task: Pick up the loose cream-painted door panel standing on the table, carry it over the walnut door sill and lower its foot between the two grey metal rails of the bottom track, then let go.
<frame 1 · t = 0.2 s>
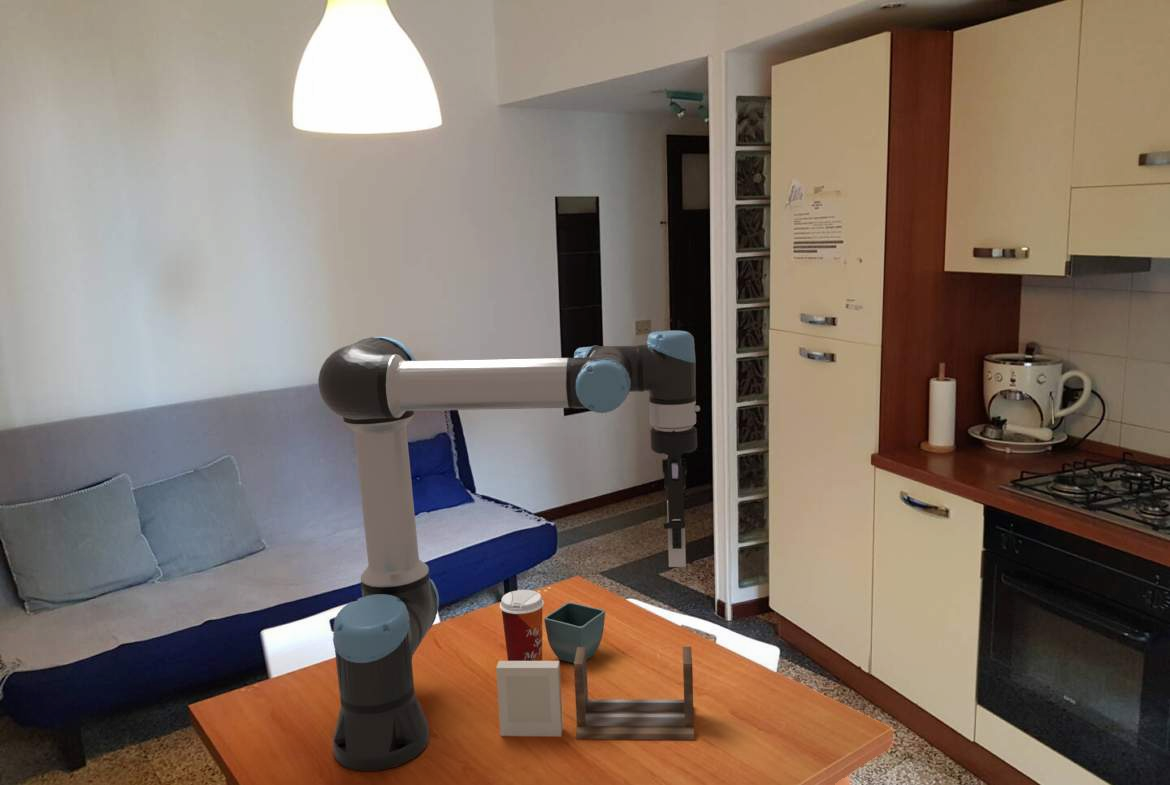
hand: (676, 551, 149), 28 cm above the table, fingers open, 13 cm apart
coffee cup: (526, 673, 167), on the table
door panel: (531, 732, 147), on the table
flower pot: (577, 658, 172), on the table
track: (635, 722, 148), on the table
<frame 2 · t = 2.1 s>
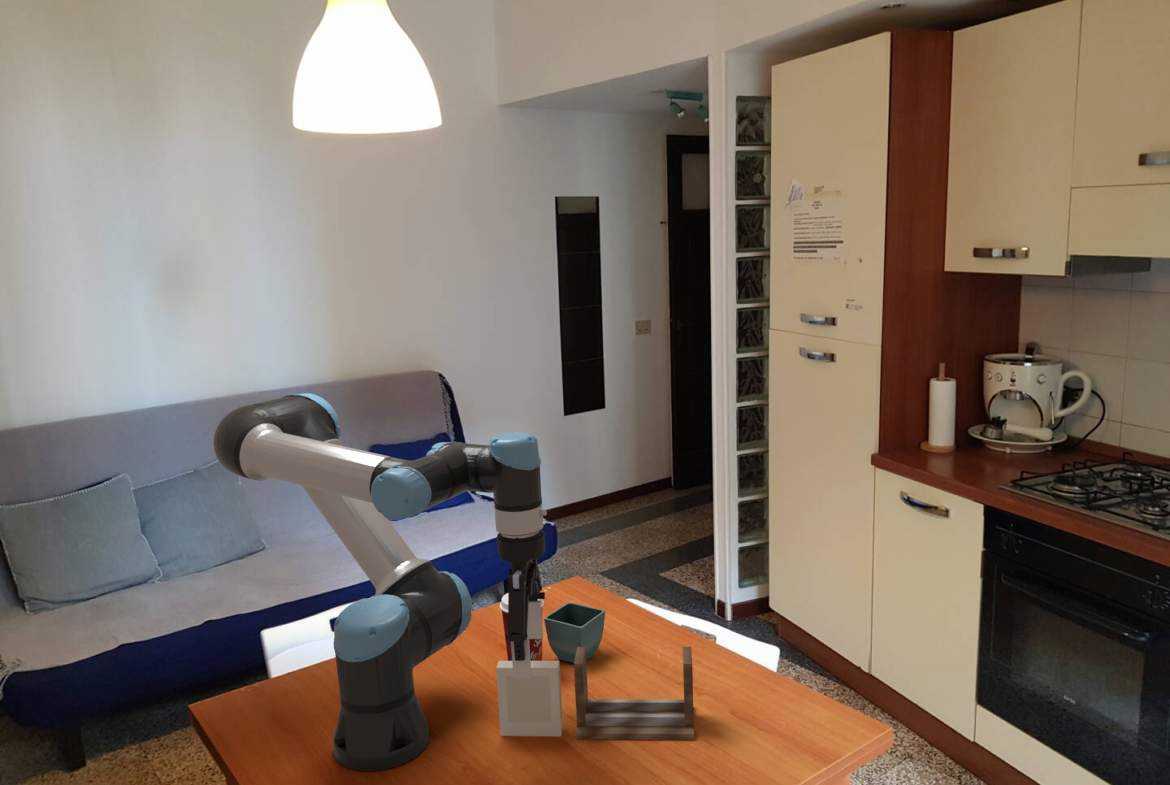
hand: (529, 656, 144), 13 cm above the table, fingers open, 13 cm apart
nothing on the table moved.
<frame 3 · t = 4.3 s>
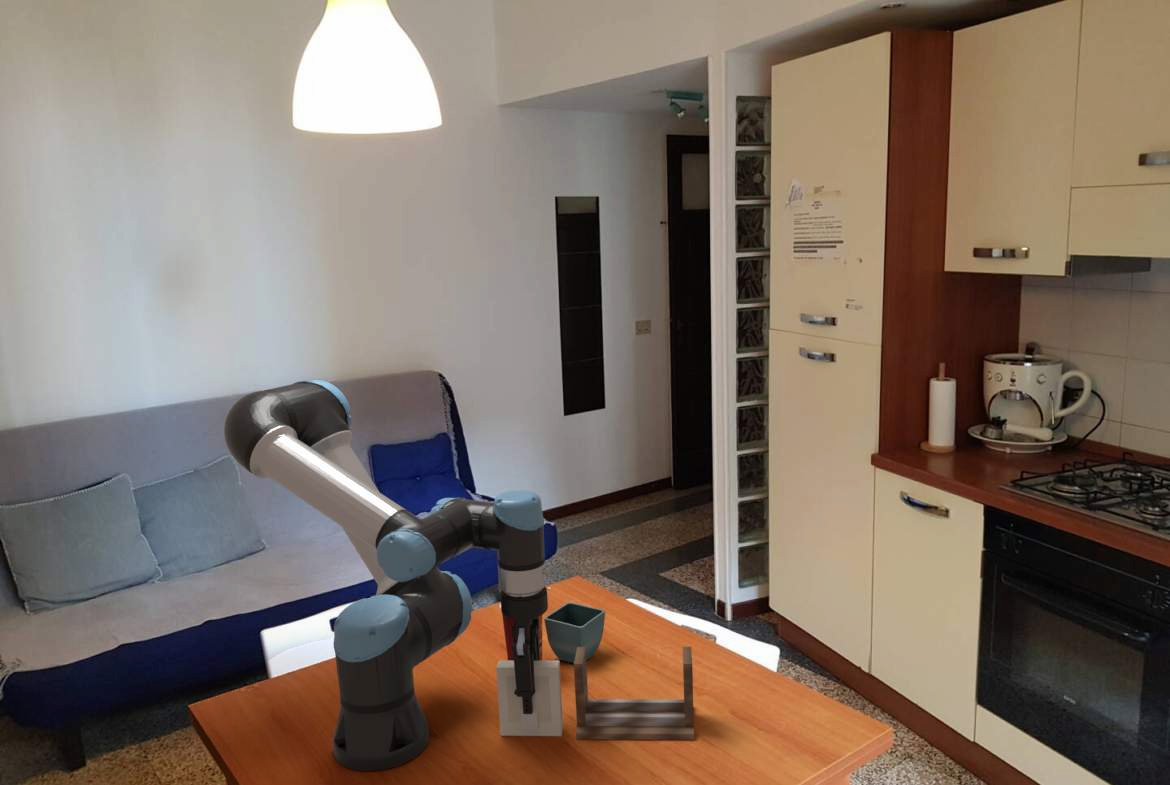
hand: (531, 723, 146), 2 cm above the table, fingers closed on door panel, 2 cm apart
door panel: (532, 731, 147), on the table, touching gripper
everything else where it was.
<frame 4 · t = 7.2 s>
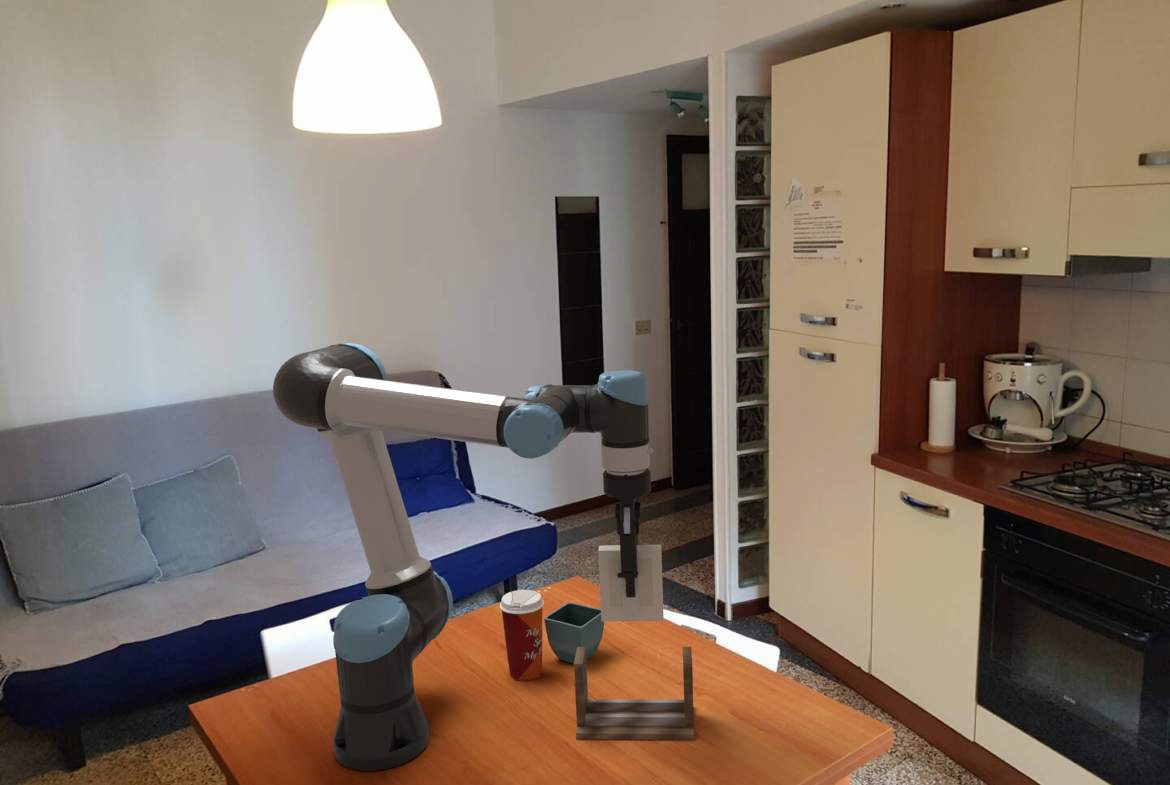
hand: (632, 609, 145), 20 cm above the table, fingers closed on door panel, 2 cm apart
door panel: (632, 618, 145), point 18 cm above the table, touching gripper
everything else where it was.
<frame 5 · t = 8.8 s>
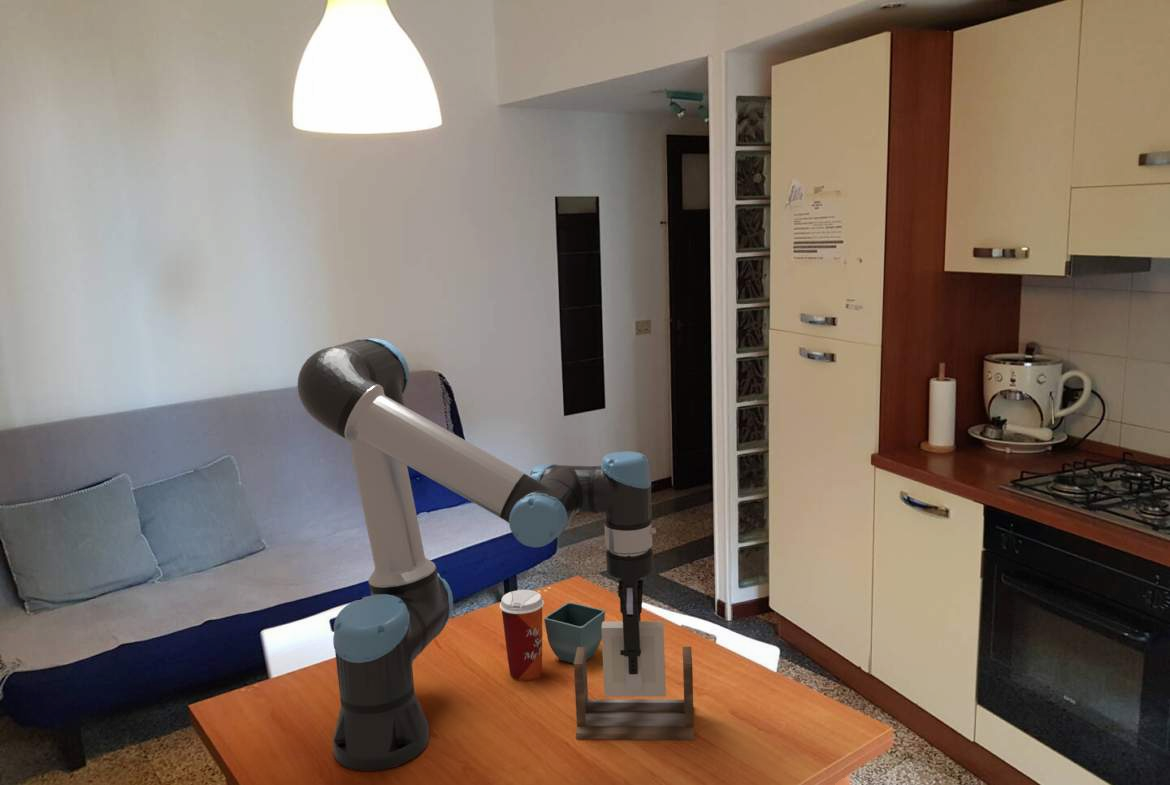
hand: (634, 684, 147), 7 cm above the table, fingers closed on door panel, 2 cm apart
door panel: (635, 692, 147), point 5 cm above the table, touching gripper
everything else where it was.
when the fingers open (3 cm above the table, at t = 10.0 s): door panel stays where it is, resting on track.
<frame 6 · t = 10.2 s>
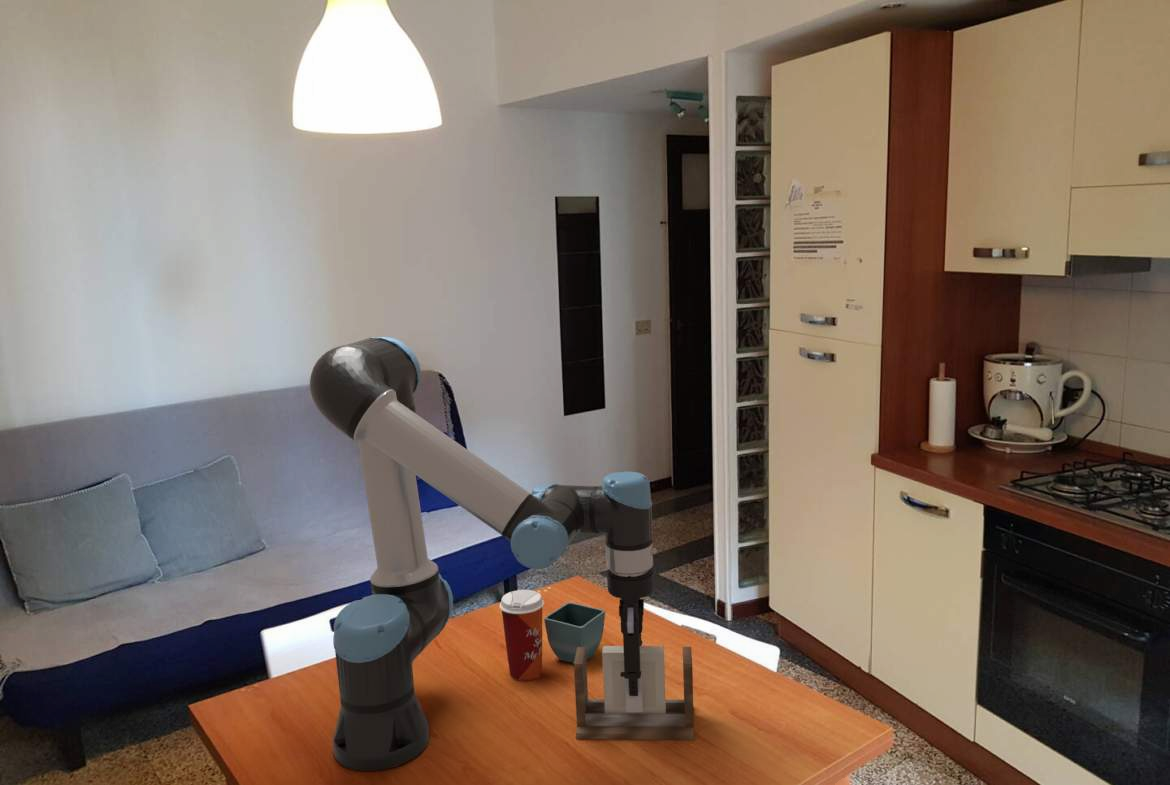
hand: (635, 701, 147), 4 cm above the table, fingers open, 5 cm apart
door panel: (635, 716, 148), point 1 cm above the table, touching track
everything else where it was.
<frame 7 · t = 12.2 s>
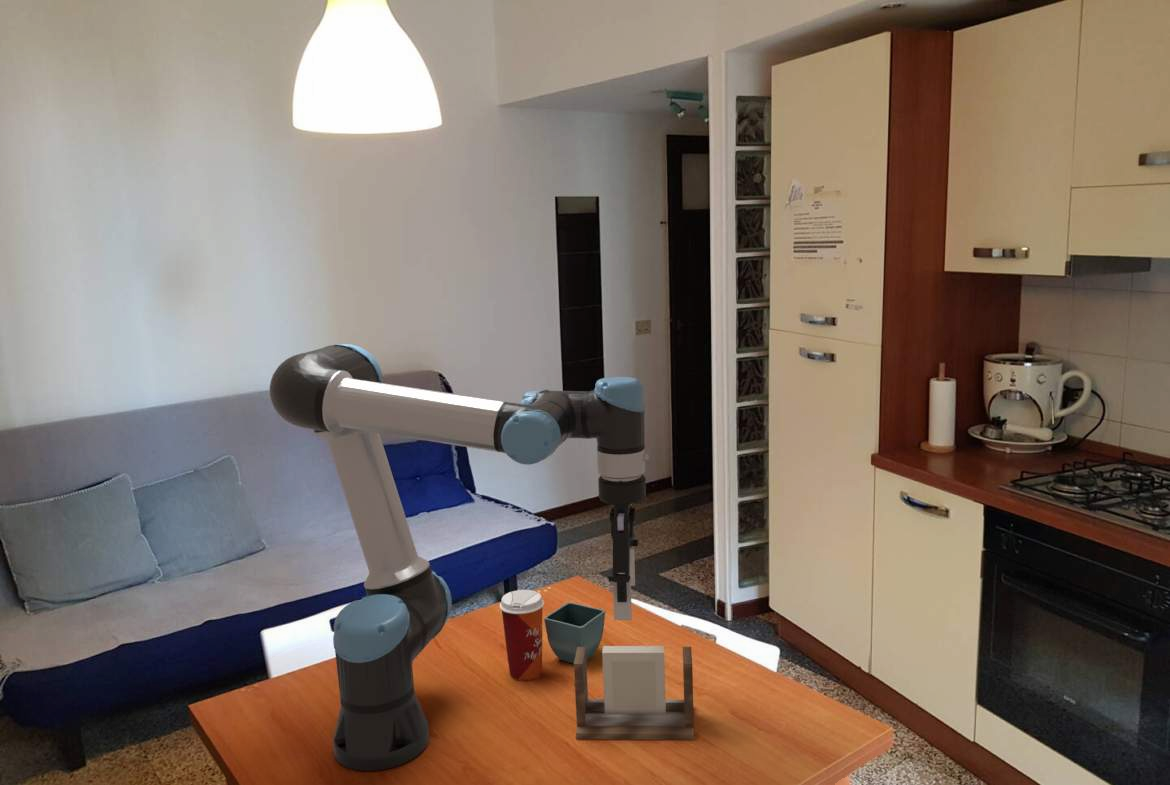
hand: (625, 601, 145), 21 cm above the table, fingers open, 13 cm apart
nothing on the table moved.
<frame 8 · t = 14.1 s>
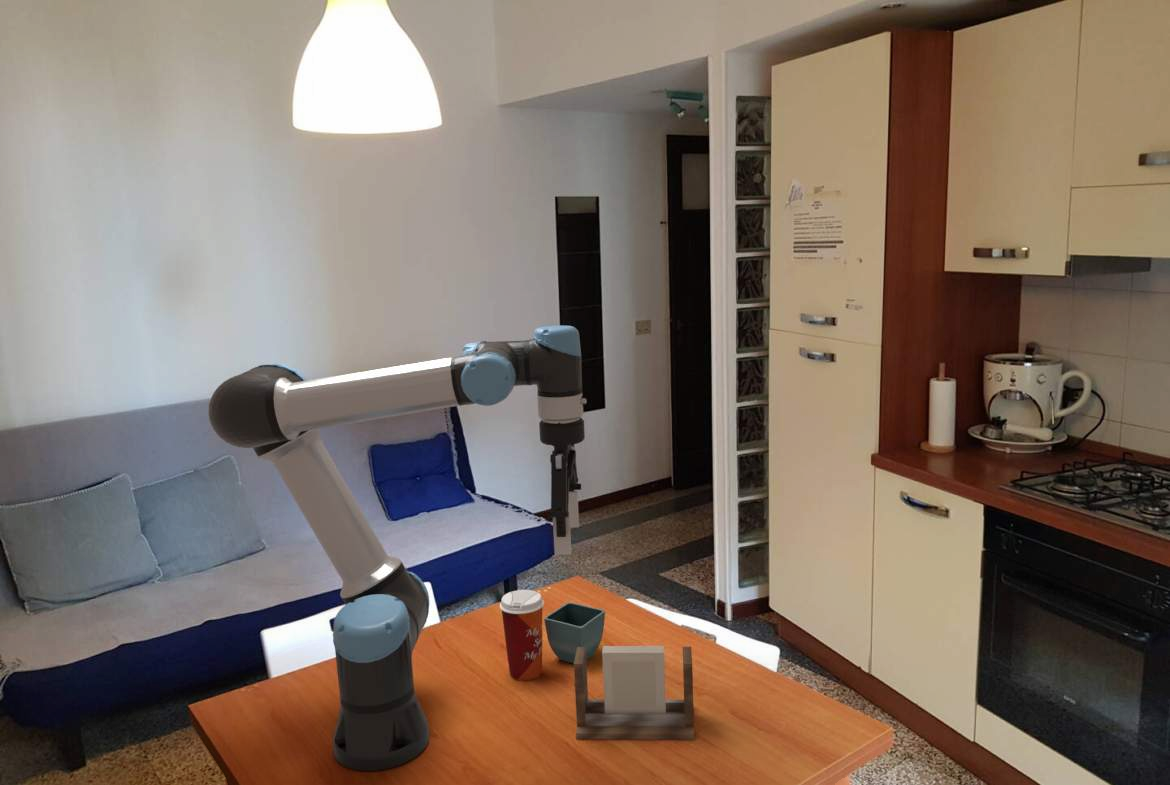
hand: (567, 540, 153), 29 cm above the table, fingers open, 13 cm apart
nothing on the table moved.
at the end: door panel inside the target area on the track (0.1 cm from its centre), point 1.0 cm above the track's base; door panel tilted 0°; the gripper is holding nothing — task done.
